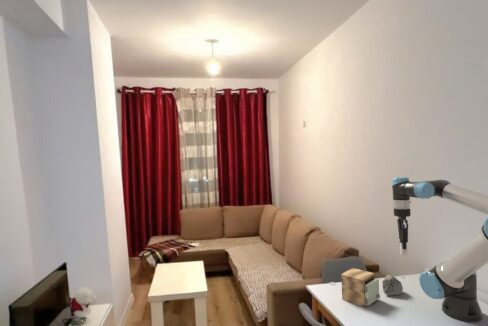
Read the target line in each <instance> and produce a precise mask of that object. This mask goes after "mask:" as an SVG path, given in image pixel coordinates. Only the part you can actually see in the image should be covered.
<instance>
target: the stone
mask: <svg viewBox="0 0 488 326" xmlns="http://www.w3.org/2000/svg"><path fill="white" fill-rule="evenodd" d="M382 290H383V293H384V294H385V295H386V296H399V295H401V294H402V293H403V291H404V288H403V284H402V281H400V280H399V279H398V278H397V277H395V276H394V275H392V274H387V275H386V276H385V278H384V279H383V280H382Z"/></svg>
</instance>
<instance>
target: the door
mask: <svg viewBox="0 0 488 326" xmlns="http://www.w3.org/2000/svg"><path fill="white" fill-rule="evenodd" d="M365 297H366V299H365V304H366V307H367V306H370V305H372V304H373V303H375V302H376V301H377V300H379V299H380V298H381V295H380V279H379V278H375V279H374V280H372V281H371V282H369V283H367V284H366V285H365Z"/></svg>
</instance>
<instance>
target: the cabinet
mask: <svg viewBox="0 0 488 326" xmlns="http://www.w3.org/2000/svg"><path fill="white" fill-rule="evenodd" d="M340 276H341V277H340V278H341V300H344V301H345V302H349V303H352V304H354V305H355V304H356V305H358V306H361V307H367V305H366V304H365V299H366V297H365V285H366V284H367V283H369V282H371V281H372V280H374V279H376V278H375V273H374V272H371V271H366V270H362V269H359V268H354V267H351V268H350V269H348V270H346V271H344V272H342V273H341V275H340Z"/></svg>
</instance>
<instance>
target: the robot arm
mask: <svg viewBox="0 0 488 326" xmlns="http://www.w3.org/2000/svg"><path fill="white" fill-rule="evenodd" d="M391 181H392V182H391V187H392V207H393V216H395V217H398V219H396V222H397V228H398V239H399V245H400V246H399V247H400V255H401V256H402V257H403V256H406V257H408V242H409V222H408V220H407V217H408V218H409V217H411V213H412V212H411V208H410V207H411V203H412V201H411V198H416V199H421V200H423V199H424V200H425V199H430V198H432V197H438V198H440V199H444V200H447V201H450V202H453V203H455V204H458V205H461V206H463V207H466V208H469V209H472V210H474V211H477V212H479V213H481V214H482V213H483V214H486V215H487V216H486V218H485V219H484V222H483V225H482V226H481V227H480V231H481V233H480V234H479V235H478V236H476V237H475V238H474V239H472V241H470V242H469V243H467V244H466V245H465V246H464V247H463V248H461V249H460V250H459V251H458V252H456V253H455V254H454V255H453V256H451V258H450V259H449V260H446V261H445V262H443V261H441V262H439V263H437V264H435V266H433V267H432V268H431V269H429V270H425V271H423V272H421V273H420V274H419V278H418V281H419V285H420V287H421V290H422V291H423V293H424V294H425V295H426V296H427V297H429V298H431V299H433V300H442V299H443V301H442V302H441V310H442V312H443V313H444V314H445V315H447V316H448V317H450V318H453V319H455V320H459V321H464V322H470V323H471V322H473V323H474V322H479V321H482V319H483V311H482V309H481V306H480V304H479V301H478V294H477V293H478V290H477V288H478V286H477V285H478V284H477V279H478V278H477V276H478V275H477V271H478V270H480V269H481V268H482V267H484V266H485V265H487V264H488V194H485V193H482V192H477V191H474V190H471V189H468V188H465V187H461V186H458V185H455V184H452V183H451V182H450V181H449V180H446V179H436V180H426V181H425V180H424V181H410V180H409V177H406V176H398V177H397V176H395V177H392V180H391Z"/></svg>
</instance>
